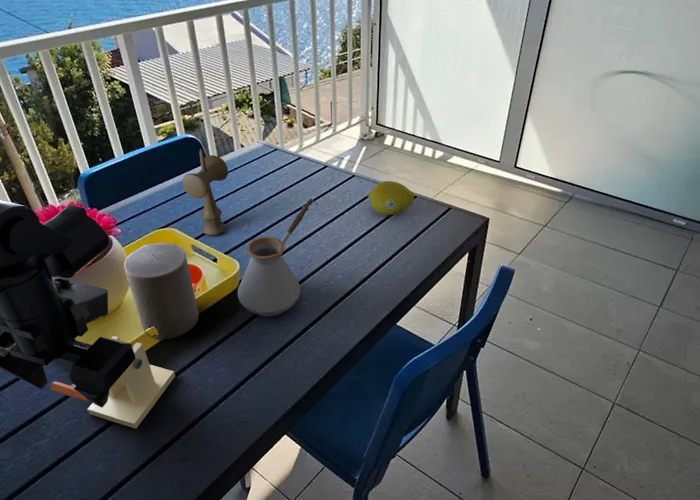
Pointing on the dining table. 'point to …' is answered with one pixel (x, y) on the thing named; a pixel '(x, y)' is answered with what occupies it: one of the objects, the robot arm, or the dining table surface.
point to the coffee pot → (270, 275)
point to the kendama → (207, 191)
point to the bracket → (134, 391)
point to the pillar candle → (162, 289)
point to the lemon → (390, 198)
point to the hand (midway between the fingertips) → (73, 394)
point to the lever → (67, 390)
